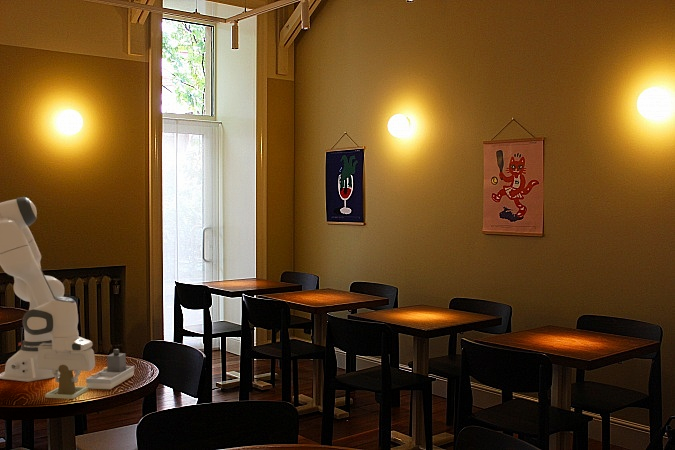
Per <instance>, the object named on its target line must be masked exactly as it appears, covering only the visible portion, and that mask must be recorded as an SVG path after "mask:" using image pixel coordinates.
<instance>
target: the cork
mask: <svg viewBox="0 0 675 450" xmlns="http://www.w3.org/2000/svg"><path fill="white" fill-rule="evenodd" d="M58 370H59V372H60V375H59V376H60V379H59V382H58V387H59V388H58V387H57V388H58V392H57V394H66V395H73V394H74V393H76V392H77V390H76V389H75V387H76V385H75V384H76V383H72V382H71V381H72V380H71V378H73V377H74V371H71V370H69V369H68V367H67V366H66V365H60V366H59V368H58Z"/></svg>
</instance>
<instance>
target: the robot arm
mask: <svg viewBox="0 0 675 450" xmlns="http://www.w3.org/2000/svg"><path fill="white" fill-rule="evenodd" d="M37 215H38V213H37V207H36V205H35V204H34V202H33V201H31V200H30V198H28V197H26V196H21V197H16V198H15V199H10V200H5V201H2V202H0V268H1V269H2V271H4V273H5V274H7V275H8V276H11V277H13V280H14V283H13V286H12V287H13V291H14V293H15V295H16V296H17V297H18V298H19V299H20V300H22V301H25V302H29V308H28V311H26V312H25V313H24V314H23V317H22V327H23V329H24V330H23V331H24V340H23V339H22V340H21V341H19V342H18V345H17V346H21V347H20V349H19V350H18V351H17V352H16V353H14V354H13V355H12V356H11V357H9V358H8V360H7V361H6V362H5V367H4V368H5V369H4V371H2V372H1V373H0V379H2V380H10V381H20V382H26V383H27V382H34V381H40V380H47V379H51V378H54V379H55V380H54V381H55V383H59V379H60V372H59V370H58V368H59V366H60V365H66V366H67V367H68V369H69V370H71V371H73V378H71V380H72V381H71V382H72V383H75V384H77V383H78V382H79V381H78V380H79V379H78V378H79V376H80V374H81V372H90V371H92V370H93V369H94V368H95V367H96V356H95V351H94V350H93V348H92V347H93V345H94V344H93V341H91V340H89V339H86V338H84V337H81V336H79V335H80V334H79V330H78V324H79V313H78V305H77V302H76V300H74V299H73V298H71V297H70V296H69V297H67V296H64V295H65V286H64V284H63V282H61V280H59V279H57V278H55V277H54V276H51V275H45V274H44V272H43V270H42V266H41V259H42V253H41V252H40V250H39V249H40V248H39V247H38V244H37V243H36V241H35V238H34V235H33V234H32V231H31V230H30V228H29V227H31V226H32V225H33V224H34V223H35V222H36V220H37V219H38V217H37Z"/></svg>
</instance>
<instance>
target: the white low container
mask: <svg viewBox="0 0 675 450" xmlns="http://www.w3.org/2000/svg"><path fill="white" fill-rule="evenodd" d="M89 375H90V376H89V377H86V379H85V383H86V387H88V389H95V390H96V389H97V390H98V389H99V390H100V389H101V390H111V389H113V388H114V387H117V386H119V385H120V384H122V383H123V382H125V381H127V380H129V379H130V378H132V377H133V375H135V365H133V366H132V365H131V366H130V365H126V370H125V371H124V372H107V366H105V367H102V370H100V371H98V372H95V373H91V374H89Z"/></svg>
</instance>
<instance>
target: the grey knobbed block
mask: <svg viewBox="0 0 675 450" xmlns="http://www.w3.org/2000/svg"><path fill="white" fill-rule="evenodd" d="M106 364H107V366H106V367H107V372H124V371H125V370H126V366H127V358H126V353H122V352H120V349H119V348H114V349H113V352H112V353H110V354H109V355H107V356H106Z"/></svg>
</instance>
